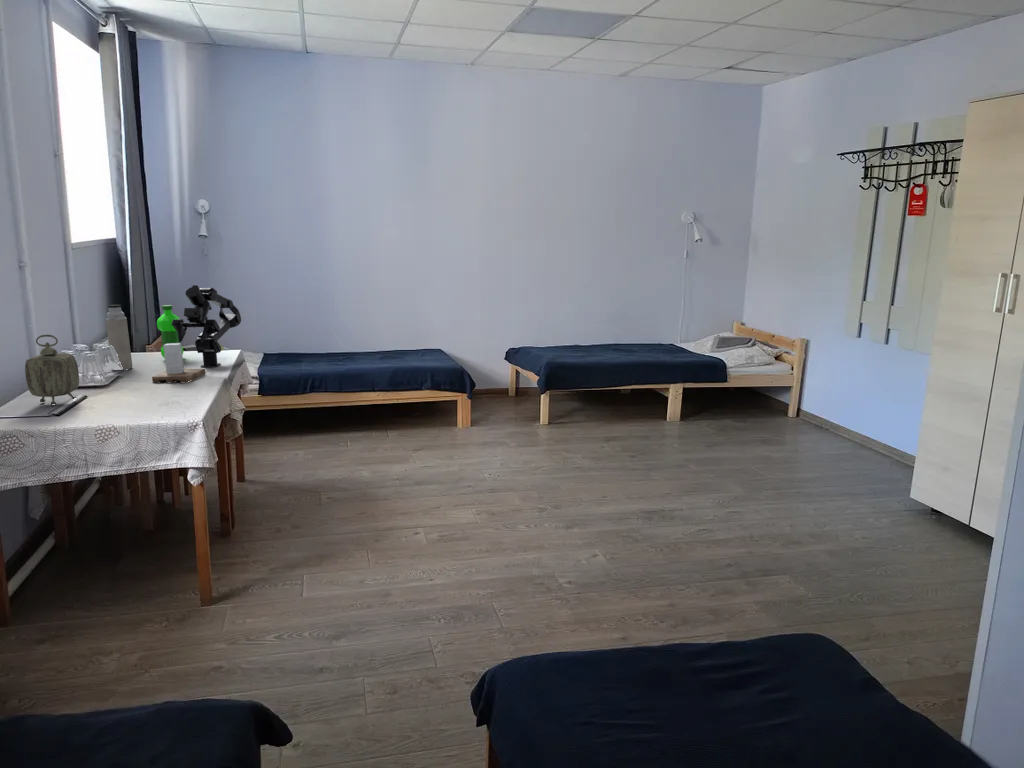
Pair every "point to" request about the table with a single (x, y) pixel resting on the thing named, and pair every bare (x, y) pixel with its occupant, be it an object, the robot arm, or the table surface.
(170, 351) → the skincare box
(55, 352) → the tabletop clock
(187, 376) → the pallet dock
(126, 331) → the thermos bottle
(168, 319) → the plastic bottle
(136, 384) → the table surface
